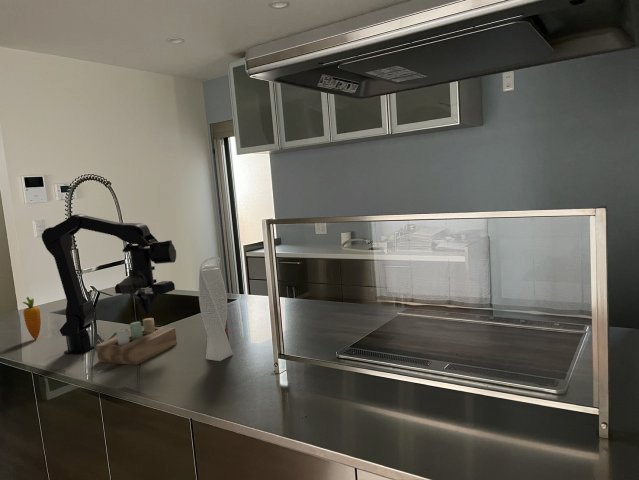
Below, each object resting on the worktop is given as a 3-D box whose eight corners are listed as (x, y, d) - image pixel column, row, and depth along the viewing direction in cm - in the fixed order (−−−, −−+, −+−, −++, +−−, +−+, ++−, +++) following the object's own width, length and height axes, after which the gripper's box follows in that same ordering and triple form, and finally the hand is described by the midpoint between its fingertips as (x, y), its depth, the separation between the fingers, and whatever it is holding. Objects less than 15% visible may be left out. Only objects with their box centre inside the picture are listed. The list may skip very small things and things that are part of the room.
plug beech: (142, 339, 156) (140, 320, 155) (149, 336, 159) (147, 317, 158) (151, 340, 155) (148, 321, 154) (158, 336, 158) (155, 318, 157)
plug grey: (116, 352, 146) (113, 331, 145) (124, 348, 149) (122, 328, 148) (125, 352, 145) (122, 332, 144) (133, 348, 148) (130, 328, 147)
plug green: (130, 344, 151) (127, 324, 150) (137, 340, 154) (135, 321, 153) (138, 344, 150) (135, 325, 149) (145, 341, 153) (143, 322, 152)
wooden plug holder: (98, 361, 147) (96, 345, 146) (141, 341, 163) (139, 326, 162) (136, 364, 141) (134, 347, 141) (176, 343, 158) (175, 328, 157)
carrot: (42, 339, 174) (36, 297, 172) (26, 342, 172) (19, 299, 171) (44, 336, 179) (38, 294, 177) (28, 338, 177) (22, 297, 175)
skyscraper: (219, 350, 148) (209, 256, 144) (239, 353, 144) (229, 256, 140) (200, 359, 141) (189, 261, 138) (220, 363, 137) (209, 262, 134)
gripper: (98, 270, 150) (105, 321, 152) (148, 269, 143) (154, 323, 145) (125, 263, 160) (131, 311, 162) (172, 262, 153) (179, 312, 155)
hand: (148, 314), depth 156 cm, fingers closed
